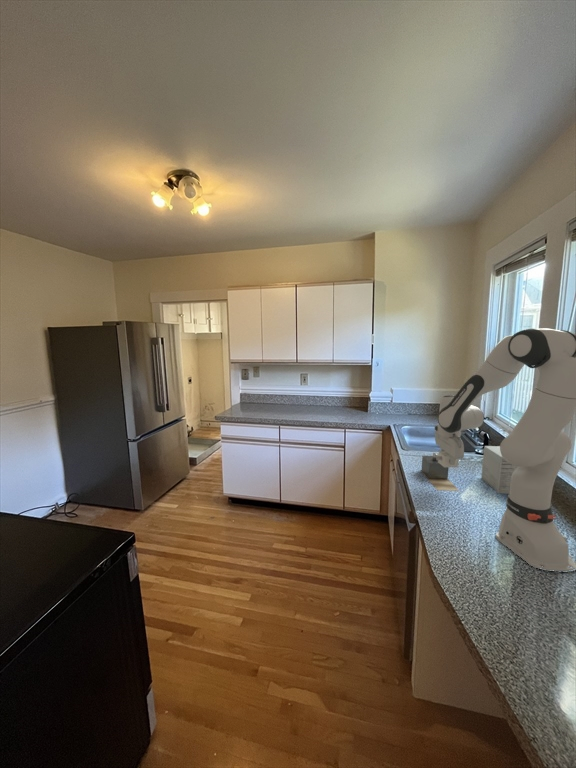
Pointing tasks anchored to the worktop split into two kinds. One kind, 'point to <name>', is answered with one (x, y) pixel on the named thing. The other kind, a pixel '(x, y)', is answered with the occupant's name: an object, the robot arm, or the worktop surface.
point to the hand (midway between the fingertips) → (448, 461)
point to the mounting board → (442, 484)
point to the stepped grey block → (433, 468)
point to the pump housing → (445, 459)
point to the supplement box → (496, 470)
